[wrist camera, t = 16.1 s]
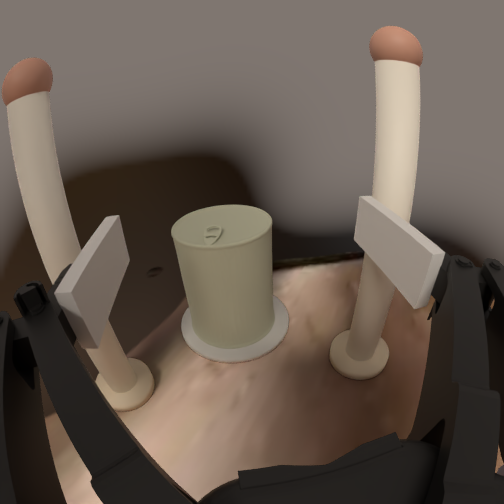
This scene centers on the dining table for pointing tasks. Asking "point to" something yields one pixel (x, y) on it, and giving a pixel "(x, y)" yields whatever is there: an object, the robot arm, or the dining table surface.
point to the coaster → (245, 352)
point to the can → (227, 273)
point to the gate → (384, 190)
